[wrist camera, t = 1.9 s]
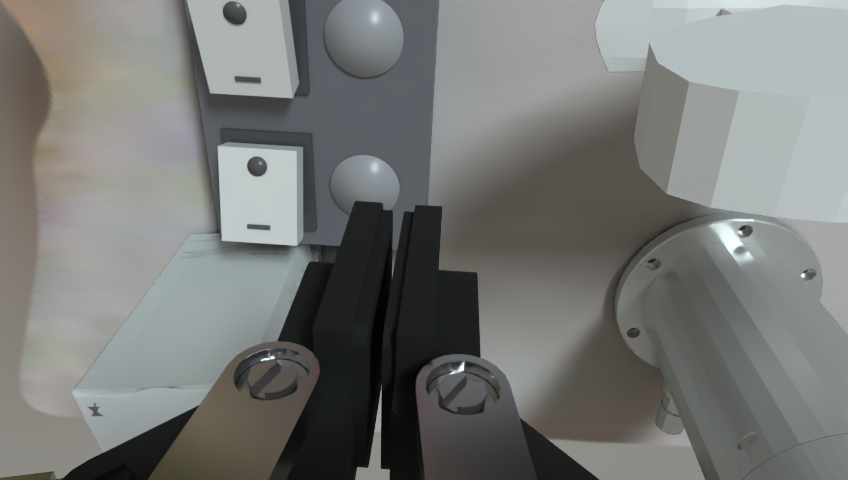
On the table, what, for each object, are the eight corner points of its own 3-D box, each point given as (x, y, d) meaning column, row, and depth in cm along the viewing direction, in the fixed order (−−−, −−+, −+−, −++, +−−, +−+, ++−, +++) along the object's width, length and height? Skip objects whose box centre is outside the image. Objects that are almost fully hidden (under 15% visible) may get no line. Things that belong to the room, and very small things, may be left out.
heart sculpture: (571, 72, 33) (667, 245, 17) (581, -28, 30) (705, 71, 15) (868, 69, 32) (1246, 249, 17) (905, -35, 29) (1393, 65, 14)
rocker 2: (303, 237, 33) (296, 246, 32) (231, 233, 33) (221, 241, 32) (303, 147, 32) (296, 151, 30) (227, 142, 32) (217, 146, 30)
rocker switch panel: (422, 298, 41) (418, 337, 38) (248, 286, 42) (229, 324, 38) (453, -267, 26) (452, -290, 22) (175, -281, 26) (130, -305, 22)
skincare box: (212, 301, 42) (106, 483, 30) (187, 227, 39) (56, 394, 27) (329, 296, 42) (271, 481, 29) (313, 220, 39) (240, 389, 26)
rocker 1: (299, 82, 30) (292, 99, 29) (219, 78, 30) (209, 94, 29) (285, -19, 26) (277, -5, 25) (194, -25, 26) (183, -10, 25)
